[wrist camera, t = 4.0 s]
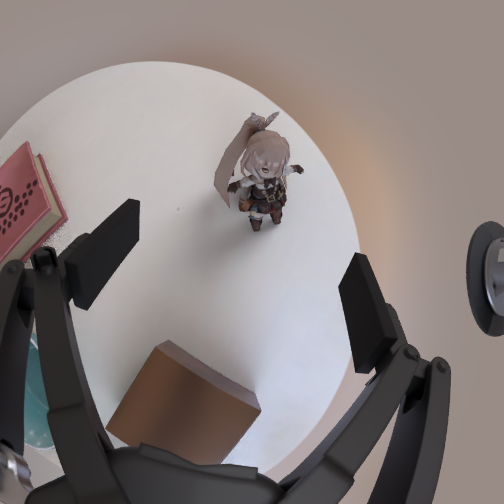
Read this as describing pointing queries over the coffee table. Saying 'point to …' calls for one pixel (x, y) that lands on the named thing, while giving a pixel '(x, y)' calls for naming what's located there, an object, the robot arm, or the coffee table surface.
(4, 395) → the robot arm
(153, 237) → the coffee table surface
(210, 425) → the walnut block
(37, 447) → the bowl
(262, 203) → the toy
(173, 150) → the coffee table surface
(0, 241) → the book
